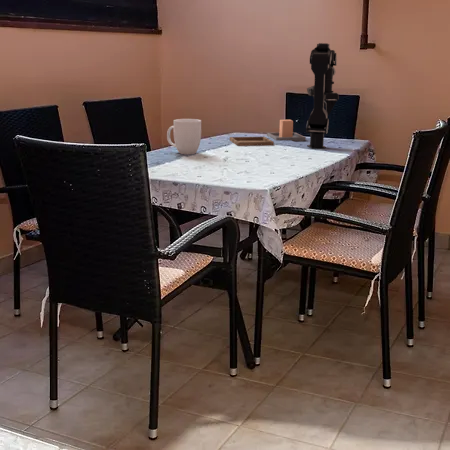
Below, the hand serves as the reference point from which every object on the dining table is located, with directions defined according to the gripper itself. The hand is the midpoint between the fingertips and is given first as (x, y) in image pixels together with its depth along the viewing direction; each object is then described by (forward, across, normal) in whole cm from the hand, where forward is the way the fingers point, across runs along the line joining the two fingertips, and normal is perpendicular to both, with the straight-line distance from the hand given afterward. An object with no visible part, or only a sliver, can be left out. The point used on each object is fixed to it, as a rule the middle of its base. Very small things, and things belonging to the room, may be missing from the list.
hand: (324, 114), depth 297 cm
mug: (+12, +28, -68) cm, 75 cm away
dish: (+12, +8, -36) cm, 39 cm away
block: (+11, -6, -16) cm, 21 cm away
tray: (+12, -6, -16) cm, 21 cm away
